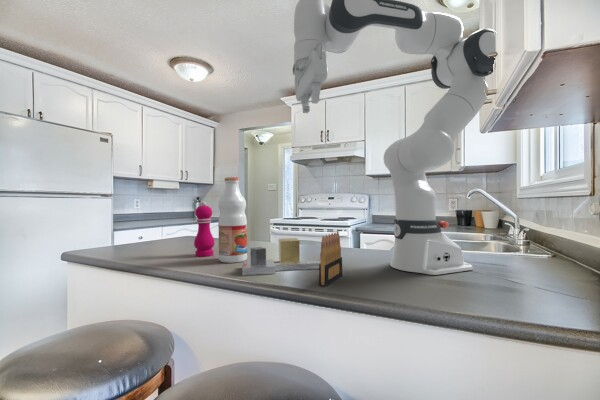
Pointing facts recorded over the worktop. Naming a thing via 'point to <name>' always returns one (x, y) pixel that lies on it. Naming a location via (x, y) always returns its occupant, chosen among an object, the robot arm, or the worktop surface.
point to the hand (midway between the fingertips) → (310, 107)
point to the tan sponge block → (289, 250)
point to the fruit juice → (232, 223)
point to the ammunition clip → (330, 260)
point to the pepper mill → (204, 231)
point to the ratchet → (272, 264)
